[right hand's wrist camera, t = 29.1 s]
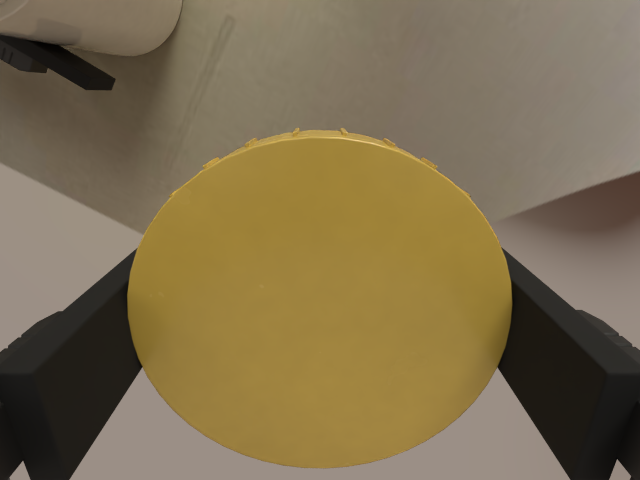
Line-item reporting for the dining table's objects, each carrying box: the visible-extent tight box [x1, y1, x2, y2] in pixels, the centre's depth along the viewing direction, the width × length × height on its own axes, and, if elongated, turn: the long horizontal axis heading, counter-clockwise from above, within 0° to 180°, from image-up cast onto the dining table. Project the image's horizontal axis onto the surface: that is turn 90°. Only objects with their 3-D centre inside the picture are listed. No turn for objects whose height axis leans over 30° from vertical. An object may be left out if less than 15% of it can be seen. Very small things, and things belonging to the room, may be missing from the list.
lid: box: [127, 128, 512, 468], centre depth 11 cm, size 10×10×2 cm
